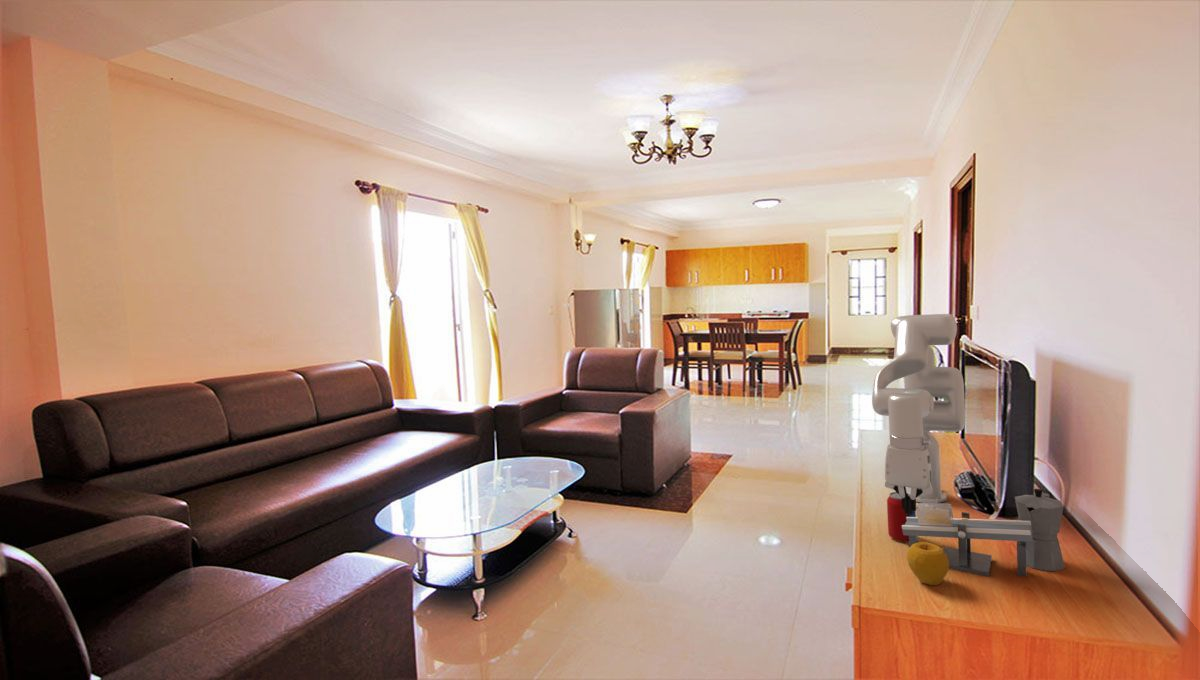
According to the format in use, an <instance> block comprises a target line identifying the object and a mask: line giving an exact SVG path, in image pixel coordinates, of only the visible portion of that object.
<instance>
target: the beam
mask: <svg viewBox="0 0 1200 680" xmlns="http://www.w3.org/2000/svg"><path fill="white" fill-rule="evenodd" d="M953 518H954V523H955V524H954V527H937V526H919V521H918V516H916V517H906V519H907V522H906V523H905V525H902V530H903V535H909V536H918V537H929V538H930V537H931V538H948V539H949V538H952V539H958V524H962V525H966V537H967V538H968V539H971V540H989V541H992V540H994V541H1006V542H1007V541H1009V542H1017V541H1026V542H1032V532H1033V530H1032V526H1031V521H1021V520H1019V519H1017V520H1015V519H1012V520H1011V519H986V518H985V519H982V518H970V519H968V518H962V517H961V518H958V517H957V518H955V517H953Z"/></svg>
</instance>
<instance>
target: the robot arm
mask: <svg viewBox="0 0 1200 680" xmlns="http://www.w3.org/2000/svg"><path fill="white" fill-rule="evenodd" d="M890 331H891V333H892V336H893V337H894V350H893V358H892V359H890V360H889V361H888V362H886V363H884V365H883V366H882V367H881V368H880V369H879V370H878V372H877V373H876V375H875V376H874V380H873V386H872V387H873V388H872V394H871V406H872V409H873V411H874V412H875V414H877V415H879V416H883V417H888V429H889V444H887V446H886V452H885V459H884V460H885V461H884V462H885V463H884V479H885V481H884V482H885V483H884V487H885V488H888V489H890V490H893V491H894V492H897V493H898V494H899V495H900V497H901V498H902V509H904V513H905V514H910V515H912V513H913V512H914V511H916V508H917V503H926V502H927V503H935V502H936V500H937V499H938V503H943V502H946V501H947V500H948V495H947V493H945V492H944V491H942V485H941V459H940V458H941V455H940V444H939V441H938V439H937V438H936V437H935V435H933V433H931V432H952V433H953V432H954V433H955V432H957V433H958V432H961V431H963V430H964V429H965V425H966V405H965V403H966V402H965V385H964V377H963V373H962V372H961V370H960V369H958V368H957V367H954V366H953V367H952V366H936V365H935V353H934V350H933V348H932V347H931V346H949V345H952V344H953V343H954V341H955V338H956V337H957V334H958V333H957V332H958V325H957V321H956V318H955V317H954V315H952V314H951V313H936V314H935V313H934V314H912V315H911V314H908V315H902V316H896V317H894V318H893V319H892V320H891V322H890ZM903 378H904V388H902V387H901V388H899V387H897V388H896V387H894V388H893V387H888V386H889V385H890V384H891V383H893V382H895V381H897V380H899V379H903ZM934 398H945V399H946V400H934ZM907 493H908V494H910V496H909V495H908V494H907ZM916 512H917V511H916Z"/></svg>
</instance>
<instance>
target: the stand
mask: <svg viewBox="0 0 1200 680" xmlns="http://www.w3.org/2000/svg"><path fill="white" fill-rule="evenodd" d="M970 513H971V512H966V511H965V512H964V511H961V519H962V518H968V519H971V518H970V516H971V515H970ZM957 539H958V540H957V543H958V545H957V546H958V548H955V547H954V548H953V547H949V546H943V548H942V549H943V550H944V552H945V553H946V555H947V557H948V560H949V569H950V570H951V569H952V570H955V571H961V572H965V573H969V574H975V575H980V576H985V577H990V571H991V566H992V561H993V558H992V556H993V555H992V554H987V553H979V552H976V551H972V544H971V543H972V541H971V540H972V539H968V538H967V537H966V525H962V524H958V538H957ZM918 542H919V536H909V542H908V549H909V548H910V547H911V546H912V545H913V544H915V543H918ZM991 560H992V561H991ZM1016 564H1017V565H1016V566H1017V568H1016V569H1017V570H1016V571H1017V573H1016V574H1017V576H1018V577H1023V578H1027V566H1026V542H1023V541H1016Z"/></svg>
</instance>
